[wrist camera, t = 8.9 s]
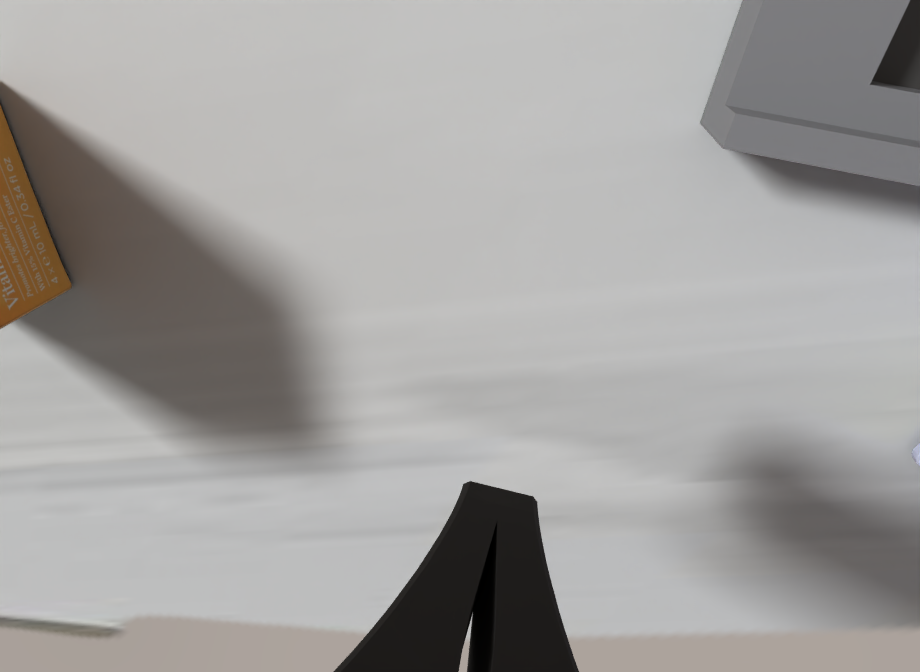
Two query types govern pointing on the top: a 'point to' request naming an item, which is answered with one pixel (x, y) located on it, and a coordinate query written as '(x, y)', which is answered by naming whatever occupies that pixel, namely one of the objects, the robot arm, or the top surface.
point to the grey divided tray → (823, 85)
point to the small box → (23, 241)
